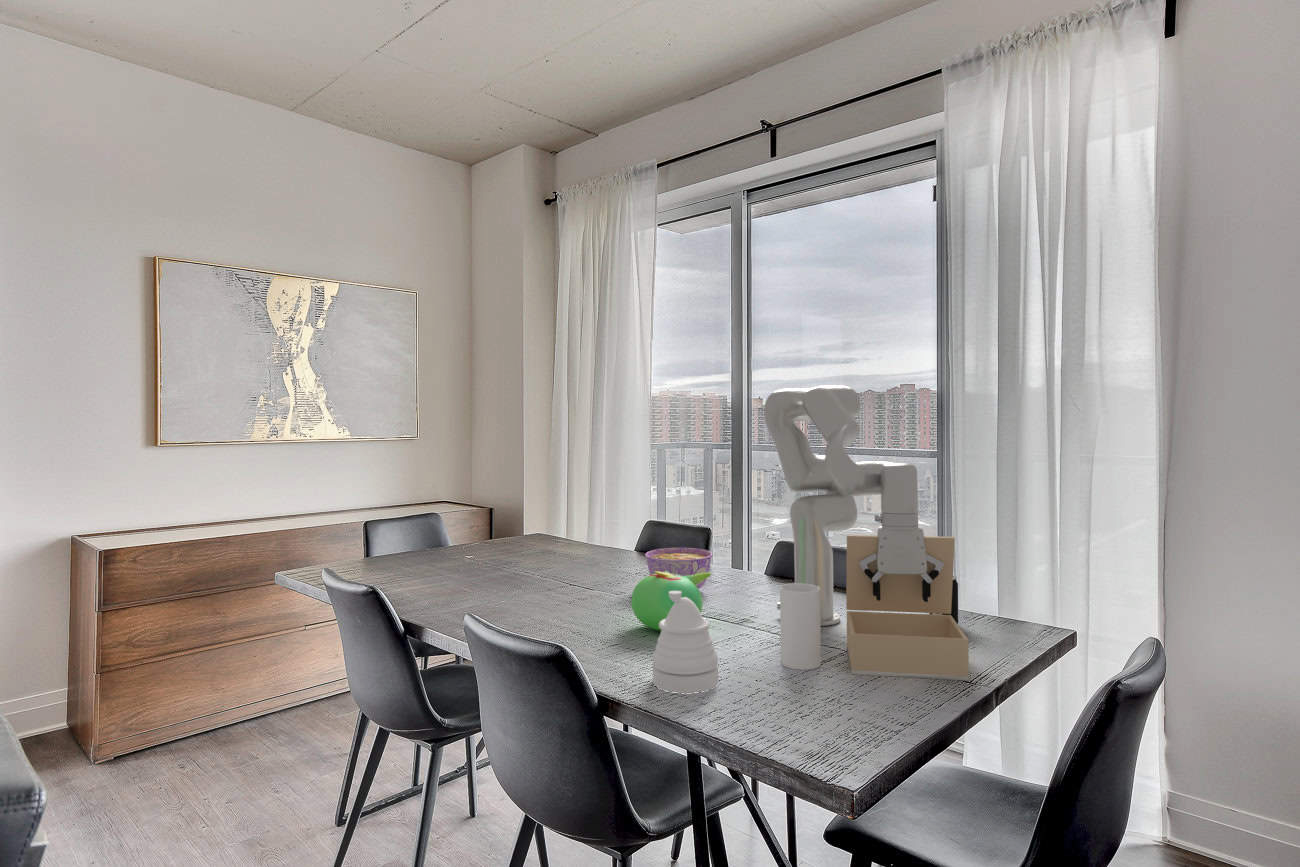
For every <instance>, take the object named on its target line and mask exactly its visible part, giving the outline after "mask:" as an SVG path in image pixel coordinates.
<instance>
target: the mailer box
mask: <svg viewBox="0 0 1300 867" xmlns="http://www.w3.org/2000/svg"><path fill="white" fill-rule="evenodd" d="M846 648H847V654H848V656H847V657H848V662H849V667H850V668H849V669H850V673H851V675H863V676H875V677H876V676H878V677H895V678H897V677H898V678H911V679H912V678H913V679H914V678H916V679H931V680H932V679H933V680H946V681H948V680H950V681H951V680H952V681H963V682H964V681H965V682H967V681H968V682H970V681H969V680H970V679H969V678H970V676H969V673H970V671H969V670H970V669H969V665H970V664H969V654H970V653H969V638H968V637H967V635H966V634H965V633H964V632H963V630H962V629H961V627H960V626H959V623H958V624H957V623H956V622H955V620H954V619H953V617H952V616H951V615H933V614H929V613H908V612H883V611H857V610H846Z"/></svg>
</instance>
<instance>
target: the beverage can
mask: <svg viewBox="0 0 1300 867" xmlns="http://www.w3.org/2000/svg"><path fill="white" fill-rule="evenodd" d="M928 614H933V615H951V616H952V617H953V619H954V620H955V622H956V623H957V624H958V625H959V583H958V581H957V576H955V575H953V584H952V604H951V614H942V613H928Z"/></svg>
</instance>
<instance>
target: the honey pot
mask: <svg viewBox="0 0 1300 867" xmlns="http://www.w3.org/2000/svg"><path fill="white" fill-rule="evenodd" d="M681 595H682V592H681V591H669V597H670V599H671V600H672V601H673V602H675V604H674V605H673V606H672V608H671V609H670V611H669V613H668V615H667V617H666V619H663V620H661V621H660V622H659V628H660V629H661V631H660V634H659V637H658V638H657V644H656V645H655V651H654V652H653V654H652V684H653V683H654V684H655V685H656V686H658V687H659V688H661V689H664V690H667V691H672V692H680V693H694V692H701V691H706V690H709V689H712V688H714V687H715V686H716V685H717V684H718V685H719V666H718V665H719V657H718V653H717V652H716V650H715V646H714V644H713V638H712V636H711V635H710V633H709V628H710V626H711V624H710V621H708V620H707V619H705V618H704V617H703V615H702V612H701V613H700V611H699V609H698V608H697V606H696V605H695V604H694V603H693V601H691V600H690V599H688V598H687V597H682V598H681ZM718 685H717V686H718ZM715 688H716V687H715ZM715 688H714V689H715ZM712 690H713V689H712Z"/></svg>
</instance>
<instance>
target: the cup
mask: <svg viewBox="0 0 1300 867" xmlns="http://www.w3.org/2000/svg"><path fill="white" fill-rule="evenodd" d="M779 602H780V610H779V611H780V614H779V616H780V617H779V618H780V664H781V665H783V666H784V667H786V668H788V669H791V670H792V669H794V670H798V671H799V670H801V671H809V670H814V669H817V668H819V667H821V665H822V662H821V661H822V660H821V659H822V657H821V656H822V655H821V654H822V652H821V651H822V649H821V626H820V587H818V586H816V585H812V584H805V583H795V582H792V583H791V582H790V583H785V584H781V585H780V588H779Z"/></svg>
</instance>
